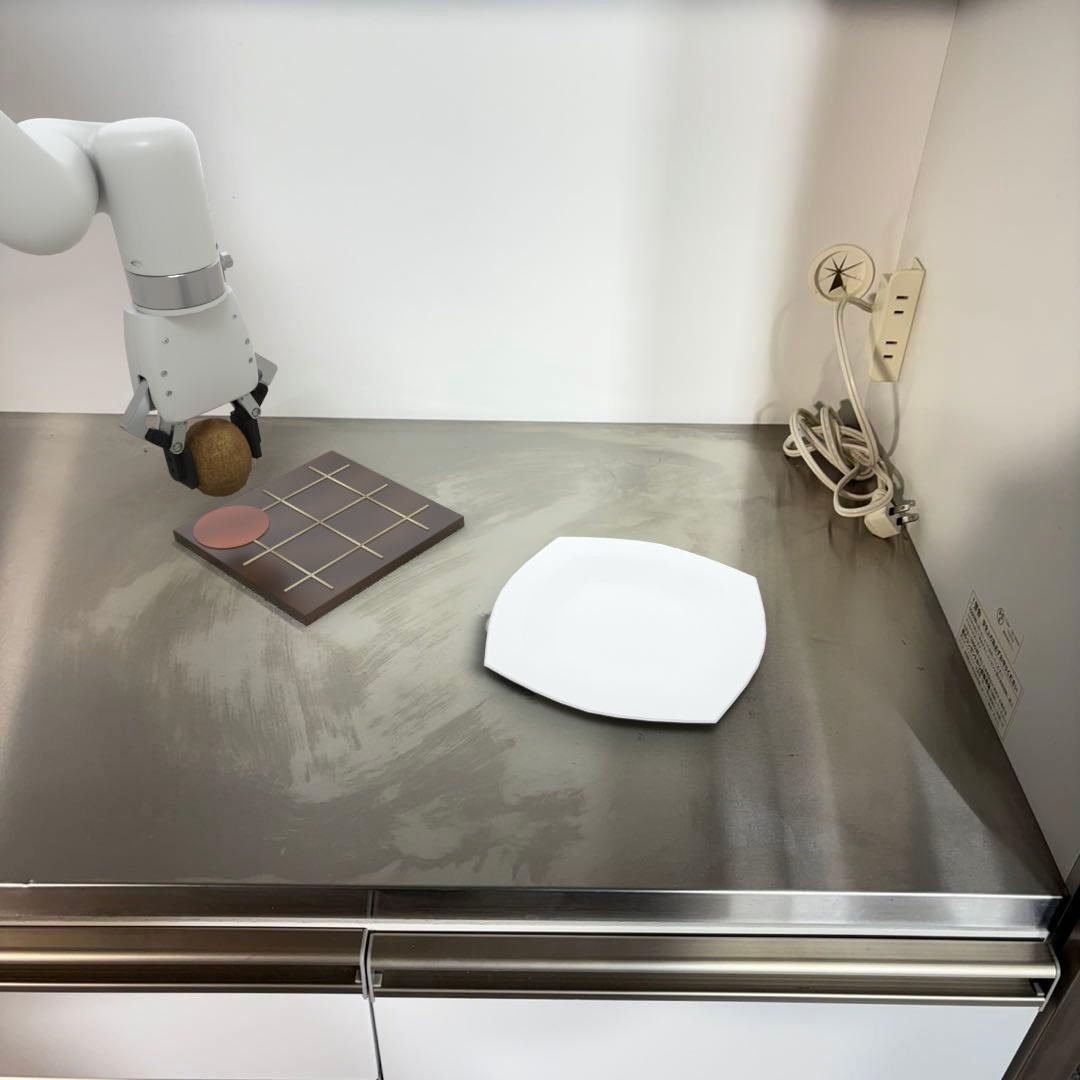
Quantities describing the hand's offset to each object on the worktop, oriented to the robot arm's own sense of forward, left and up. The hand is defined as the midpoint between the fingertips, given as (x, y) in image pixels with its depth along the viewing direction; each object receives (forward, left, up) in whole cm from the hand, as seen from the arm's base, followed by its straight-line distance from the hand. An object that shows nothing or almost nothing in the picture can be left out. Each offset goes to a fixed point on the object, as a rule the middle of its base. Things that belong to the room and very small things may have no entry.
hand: (218, 466), depth 90 cm
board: (+6, +6, -8) cm, 12 cm away
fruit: (0, 0, -3) cm, 3 cm away
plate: (+38, +13, -8) cm, 41 cm away
